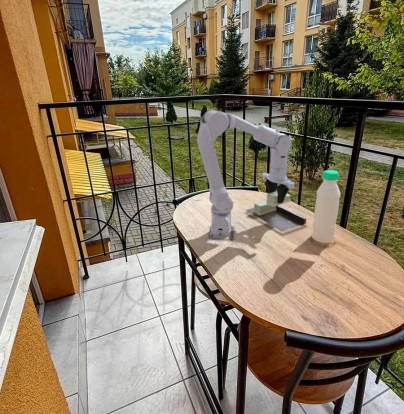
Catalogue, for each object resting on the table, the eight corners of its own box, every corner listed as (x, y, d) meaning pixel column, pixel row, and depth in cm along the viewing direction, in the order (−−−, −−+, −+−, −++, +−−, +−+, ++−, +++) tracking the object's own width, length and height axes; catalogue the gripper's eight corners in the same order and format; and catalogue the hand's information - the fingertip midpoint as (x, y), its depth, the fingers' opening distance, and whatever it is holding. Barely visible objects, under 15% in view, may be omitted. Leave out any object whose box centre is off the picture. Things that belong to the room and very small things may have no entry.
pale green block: (272, 206, 104) (273, 197, 103) (265, 203, 107) (266, 193, 106) (290, 201, 108) (291, 191, 107) (283, 198, 111) (283, 188, 110)
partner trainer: (259, 215, 113) (259, 206, 112) (253, 212, 117) (253, 203, 115) (276, 210, 117) (277, 201, 116) (270, 207, 121) (270, 198, 119)
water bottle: (335, 247, 92) (346, 175, 84) (313, 245, 94) (321, 174, 85) (331, 236, 99) (340, 168, 90) (309, 235, 100) (317, 168, 91)
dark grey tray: (281, 235, 101) (282, 226, 100) (245, 213, 120) (245, 205, 118) (305, 226, 106) (306, 218, 105) (267, 206, 125) (267, 199, 123)
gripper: (301, 169, 98) (298, 204, 103) (272, 160, 110) (271, 193, 115) (286, 172, 95) (284, 209, 100) (258, 163, 107) (257, 196, 112)
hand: (276, 200), depth 107 cm, fingers closed on pale green block, 4 cm apart
